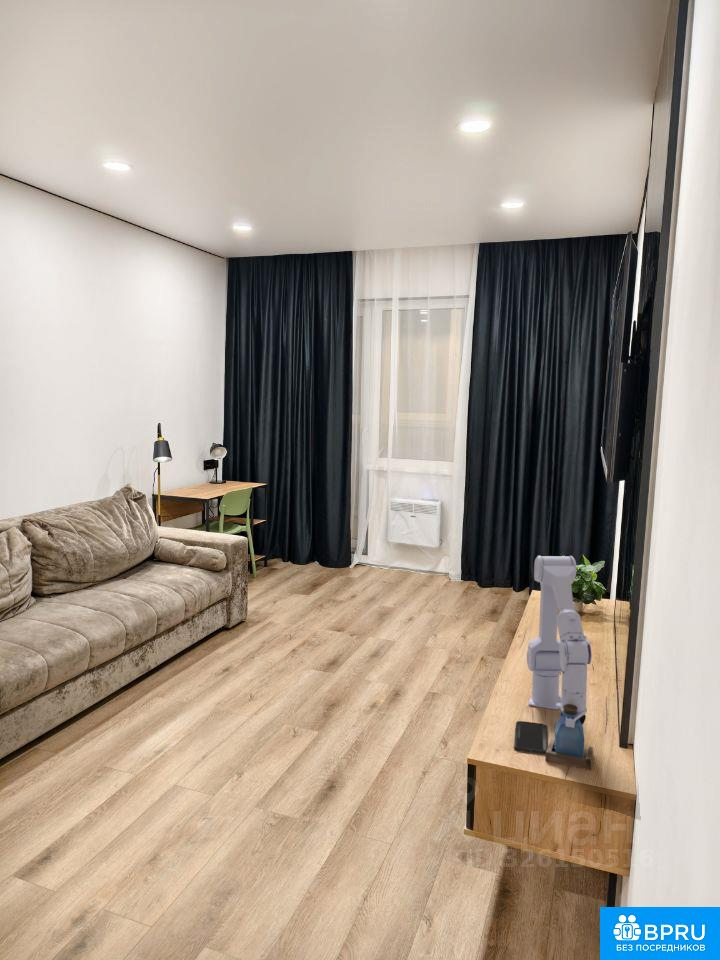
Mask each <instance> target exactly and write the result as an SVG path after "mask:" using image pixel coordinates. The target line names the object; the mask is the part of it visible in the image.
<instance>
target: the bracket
mask: <svg viewBox="0 0 720 960" xmlns="http://www.w3.org/2000/svg"><path fill="white" fill-rule="evenodd" d="M593 758H594V747H593V746H588V750H587V753H586V757H584V758H582V757H577V756H572V755H567V754H562V753H557V752H555V738H554V739H553V738H550V740H549V742H548V744H547V750H546V754H545V759H544V760H545V761H546V762H549V763H550V762H551V763H556V764H559V765H560V764H561V765H566V766H569V767H574V766H576V768H579V769H584V768H585V770H589V771H592V762H593Z"/></svg>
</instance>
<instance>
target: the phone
mask: <svg viewBox="0 0 720 960" xmlns="http://www.w3.org/2000/svg"><path fill="white" fill-rule="evenodd" d="M514 731H515V732H514V743H513V749H514V750H515V751H517V752H521V753H522V752H523V753H529V754H537V755H546V750H547V748H548V725H547V724H545V723H542V722H541V723H540V722H532V721H524V720H517V721H516V722H515V729H514Z"/></svg>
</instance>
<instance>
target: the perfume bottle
mask: <svg viewBox="0 0 720 960" xmlns="http://www.w3.org/2000/svg"><path fill="white" fill-rule="evenodd" d="M563 708H564V710H563V711H561V712H562V715H563V716H561V715H560V716H559V718H557V720H556V722H555V731H554V733H555V734H554V740H555V748H554V752H557V753H562V754H567V755H572V756H577V757H582V758H585V733H584V726H583V725H582V724H581V722H580V720H579V719H577V720H576V721H575V727H574V728H572V727H566V726H565V720H566V719H565V718H566V717H567V718H568V719H569V718H570V717H571V719H574V718H575V717H577V716H578V712H577V707H576V706H575V705H571V704H566V705H564V706H563Z"/></svg>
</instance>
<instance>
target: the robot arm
mask: <svg viewBox="0 0 720 960" xmlns="http://www.w3.org/2000/svg"><path fill="white" fill-rule="evenodd" d="M576 575H577V562H576V559H575V558H574V556H573V555H569V556H566V555H565V556H564V555H563V556H561V555H560V556H557V555H556V556H555V555H554V556H552V555H549V556H548V555H545V556H541V555H537V556H536V558H535V560H534V569H533V578H534V581H535V582H537V583H539V584H540V603H539V626H538V633H539V634H538V636H537V637H536V638H534V639H532V640H531V641H529V642H528V646H527V652H526V664H527V667H528V669H529V671H530V672H532V681H531V683H532V684H531V686H532V687H531V690H532V691H531V696H530V700H529V701H528V706H533V707H539V708H543V709H549V710H555V711H558V710H560V711H561V712H560V716H563V715H562V711H563V710H564V708H563V706H564V705H566V704H571V705H575V706H576V707H577V712H578V716H577V717H575V718H574V719H571V717H570V718H569V719H568V718H567V717H566V718H565V719H566V720H565V726H566V727H572V728H574V727H575V721H576V720H577V719H579V720H580V722H581V724H582V726H583V725H584V723H585V722H586V718H587V716H586V714H587V712H588V708H587V689H588V687H587V686H588V684H587V683H588V665H591V663H592V658H593V657H592V656H593V654H592V646H591V642H590V641H589V639H588V637H587V635H585V633H584V628H583V625H582V619H581V615H580V614H579V612H577V611H576V610H575V608H574V598H573V590H572V584H574V580H575V578H576V577H577V576H576ZM558 611H559V613H558ZM557 632H558V633H557ZM558 635H559V639H557V638H558V637H557V636H558ZM560 676H561V693H559V692H560ZM560 694H561V695H560Z"/></svg>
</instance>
